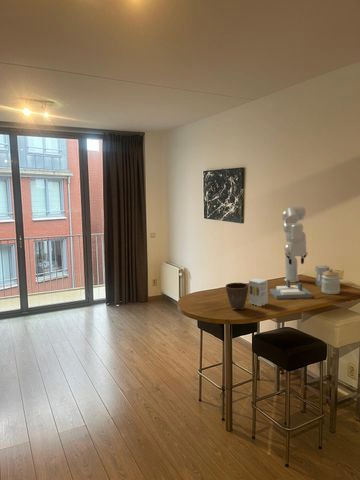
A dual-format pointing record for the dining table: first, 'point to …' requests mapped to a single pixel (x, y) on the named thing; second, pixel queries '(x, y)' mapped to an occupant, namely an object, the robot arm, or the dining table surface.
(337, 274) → the jar
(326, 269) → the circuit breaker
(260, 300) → the supplement box
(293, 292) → the breaker panel
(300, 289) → the breaker handle
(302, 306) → the dining table surface
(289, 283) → the breaker handle
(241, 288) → the plant pot
